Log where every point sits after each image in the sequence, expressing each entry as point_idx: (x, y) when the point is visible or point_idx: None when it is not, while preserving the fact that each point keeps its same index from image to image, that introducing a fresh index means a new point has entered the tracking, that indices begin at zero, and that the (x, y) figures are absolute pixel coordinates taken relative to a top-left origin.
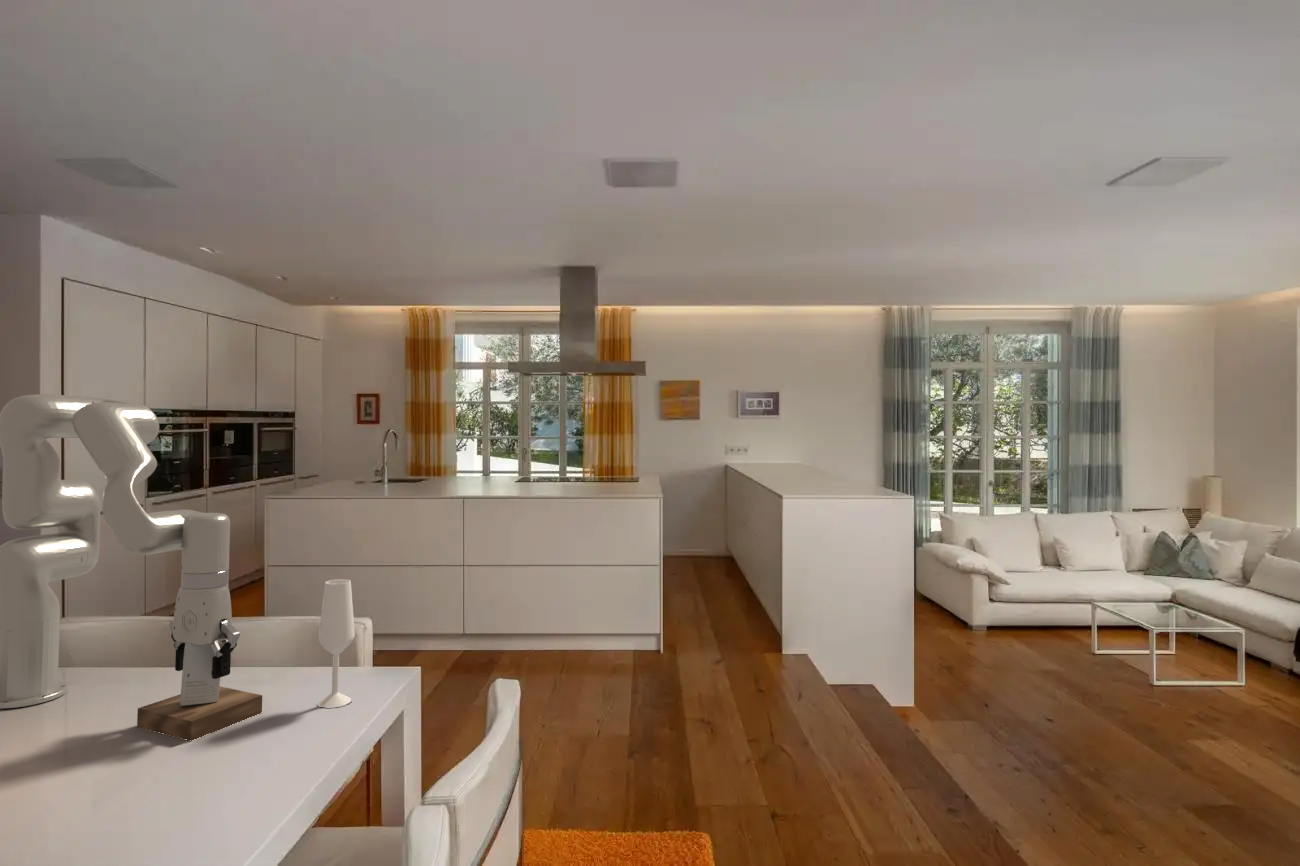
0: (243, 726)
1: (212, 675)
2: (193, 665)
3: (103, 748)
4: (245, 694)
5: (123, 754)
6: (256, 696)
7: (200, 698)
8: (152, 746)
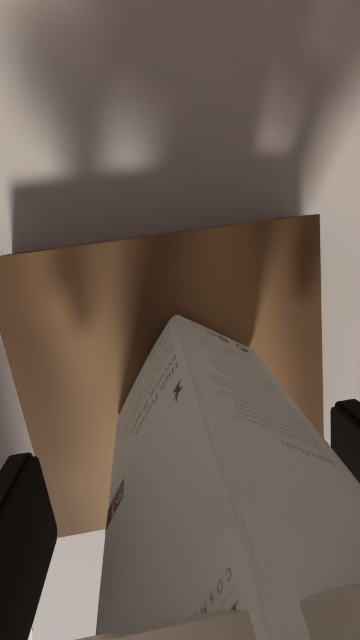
0: (6, 409)
1: (18, 461)
2: (170, 448)
3: (198, 47)
4: None
5: (82, 57)
6: (63, 521)
7: (140, 379)
8: (74, 156)
